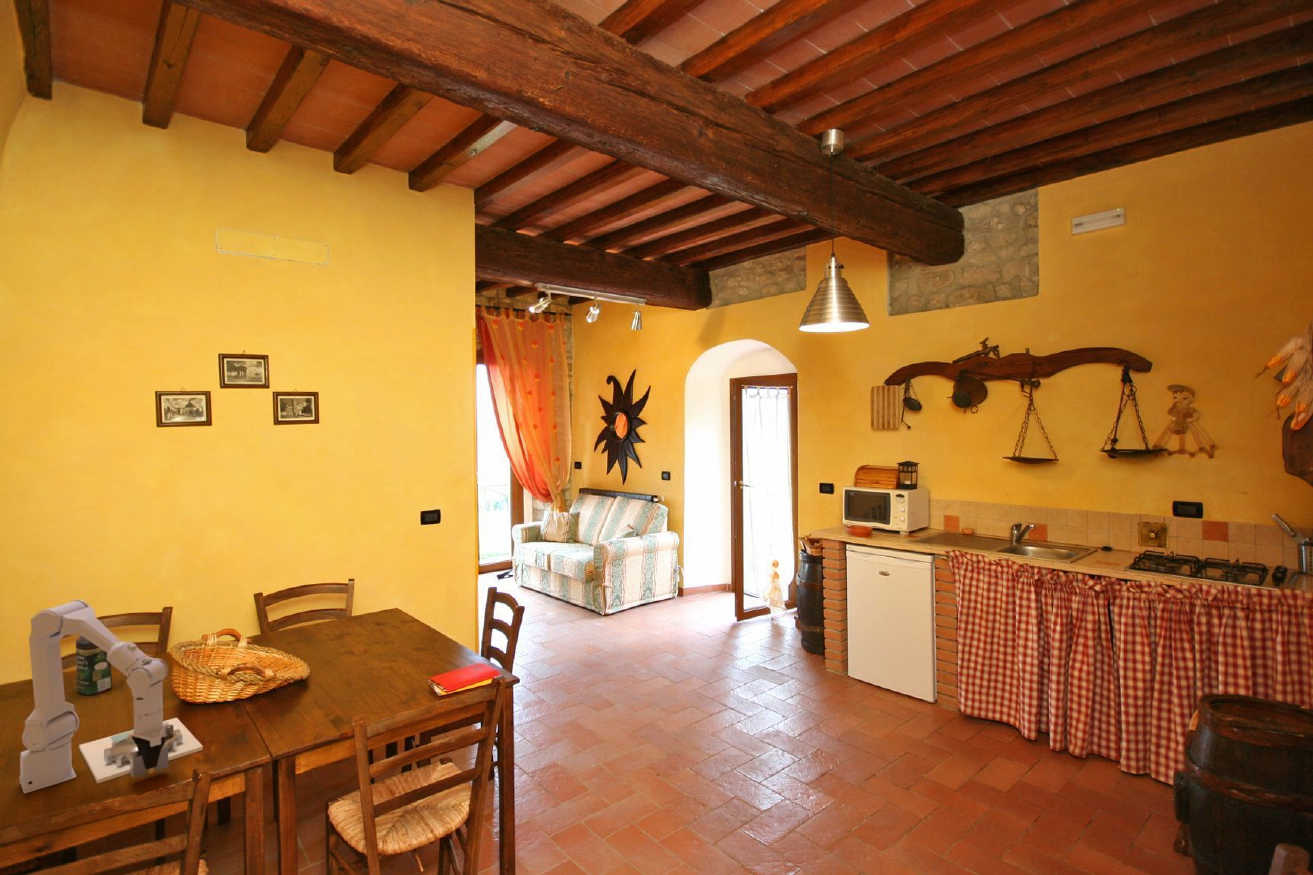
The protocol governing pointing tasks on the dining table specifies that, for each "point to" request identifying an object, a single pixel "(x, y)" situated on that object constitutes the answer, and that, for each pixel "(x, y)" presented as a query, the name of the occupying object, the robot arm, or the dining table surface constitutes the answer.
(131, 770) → the link block
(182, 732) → the sprocket base
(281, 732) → the dining table surface
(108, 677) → the coffee jar
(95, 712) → the dining table surface
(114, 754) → the sprocket
